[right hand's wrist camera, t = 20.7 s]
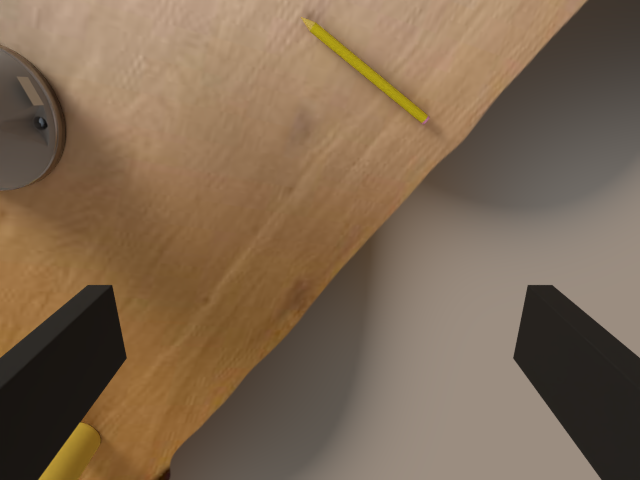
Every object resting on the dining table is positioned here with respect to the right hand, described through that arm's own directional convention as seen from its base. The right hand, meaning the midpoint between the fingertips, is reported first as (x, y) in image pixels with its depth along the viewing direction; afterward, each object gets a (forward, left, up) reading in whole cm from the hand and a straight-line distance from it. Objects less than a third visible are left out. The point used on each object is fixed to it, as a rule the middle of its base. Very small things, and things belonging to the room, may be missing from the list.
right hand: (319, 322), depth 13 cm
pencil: (+9, +4, -34) cm, 36 cm away
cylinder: (-53, -7, -34) cm, 64 cm away
